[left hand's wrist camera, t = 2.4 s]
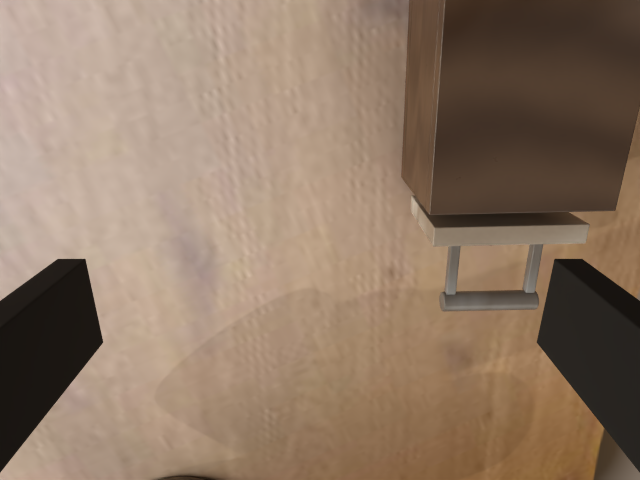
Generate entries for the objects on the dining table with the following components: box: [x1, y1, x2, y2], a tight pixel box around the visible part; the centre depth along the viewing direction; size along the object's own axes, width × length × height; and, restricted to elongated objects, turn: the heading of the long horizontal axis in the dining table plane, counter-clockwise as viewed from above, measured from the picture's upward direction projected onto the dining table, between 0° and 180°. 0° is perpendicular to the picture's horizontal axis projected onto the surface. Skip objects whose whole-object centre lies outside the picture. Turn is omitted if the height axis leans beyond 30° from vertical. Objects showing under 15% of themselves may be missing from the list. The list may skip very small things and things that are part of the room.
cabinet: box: [401, 0, 640, 215], centre depth 25 cm, size 17×10×9 cm, turn 1°
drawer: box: [411, 196, 589, 311], centre depth 27 cm, size 22×9×7 cm, turn 1°
